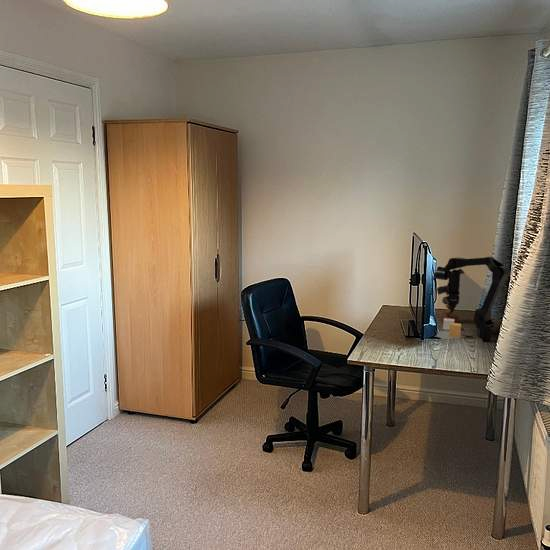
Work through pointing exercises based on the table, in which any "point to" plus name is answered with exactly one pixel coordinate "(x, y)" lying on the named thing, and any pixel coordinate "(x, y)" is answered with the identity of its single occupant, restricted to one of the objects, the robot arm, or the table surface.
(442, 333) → the plate
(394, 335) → the table surface
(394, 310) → the table surface
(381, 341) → the table surface
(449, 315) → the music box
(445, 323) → the matte ivory cube
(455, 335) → the matte amber box
